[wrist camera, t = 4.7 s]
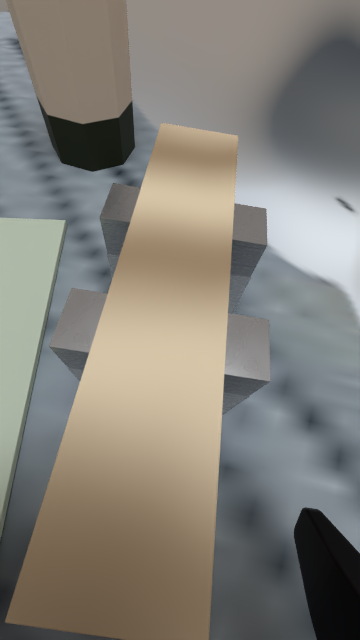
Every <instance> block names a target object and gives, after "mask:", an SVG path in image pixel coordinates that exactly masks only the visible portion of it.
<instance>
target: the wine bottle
mask: <svg viewBox="0 0 360 640" xmlns="http://www.w3.org/2000/svg"><path fill="white" fill-rule="evenodd" d="M6 2H7V5H8V8H9V11H10V14H11V18H12V21H13V24H14V27H15V30H16V33H17V36H18V39H19V43H20V46H21V49H22V52H23V55H24V58H25V61H26V64H27V68H28V71H29V74H30V77H31V80H32V83H33V86H34V89H35V93H36V96H37V99H38V102H39V105H40V108H41V111H42V114H43V118H44V121H45V124H46V127H47V130H48V133H49V136H50V139H51V143H52V145H53V147H54V149H55V151H56V153H57V155H58V156H59V158H60V160H61V162H62V163H64V164H68V165H71V166H75V167H79V168H82V169H86V170H89V171H96V170H101V169H105V168H109V167H113V166H117V165H122V164H124V162H125V161H126V159H127V158H128V156H129V155H130V153H131V152H132V150H133V149H134V147H135V141H134V124H133V107H132V92H131V91H132V90H131V73H130V56H129V40H128V23H127V5H126V0H6Z"/></svg>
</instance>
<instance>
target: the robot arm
mask: <svg viewBox="0 0 360 640" xmlns="http://www.w3.org/2000/svg"><path fill="white" fill-rule="evenodd" d="M294 539H295V544H296V549H297V554H298V559H299V564H300V569H301V574H302V579H303V584H304V589H305V594H306V599H307V603H308V608H309V612H310V616H311V620H312V624H313V627H314V631H315V634H316V638H317V640H360V553H359V552H358V551H357V550H356V549H355V548H354V547H353V546H352V544H351V543H350V542H349V541H348V540H347V539H346V538H345V537H344V536H343V535H342V534H341V533H340V531H339V530H338V529H337V528H336V527H335V526H334V525H333V524H332V523H331V522H330V521H329V520H328V518H327V517H326V516H325V515H324V514H323V513H322V512H321V511H319V510H318V509H313V508H303V509H302V510H301V513H300V515H299V518H298V520H297V523H296V525H295V528H294Z"/></svg>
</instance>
